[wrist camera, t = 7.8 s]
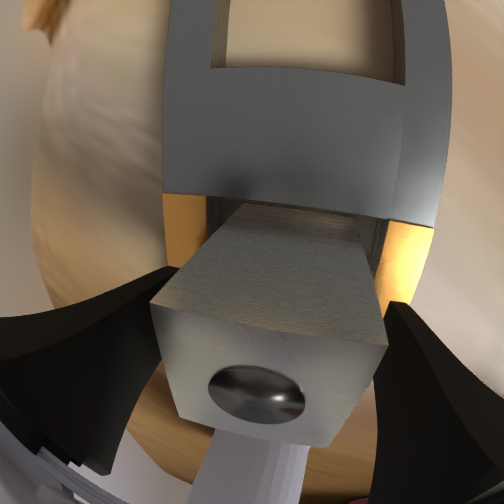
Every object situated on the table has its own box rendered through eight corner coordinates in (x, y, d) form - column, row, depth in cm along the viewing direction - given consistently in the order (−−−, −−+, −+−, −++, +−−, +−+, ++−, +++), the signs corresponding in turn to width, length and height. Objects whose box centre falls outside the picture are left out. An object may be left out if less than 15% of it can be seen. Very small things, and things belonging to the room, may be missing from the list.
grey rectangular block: (333, 308, 12) (327, 449, 6) (241, 293, 13) (178, 418, 7) (352, 217, 10) (389, 348, 4) (244, 202, 11) (146, 304, 5)
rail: (366, 366, 13) (368, 389, 12) (192, 337, 15) (181, 356, 14) (417, -50, 3) (425, -66, 2) (201, -63, 5) (187, -77, 4)
